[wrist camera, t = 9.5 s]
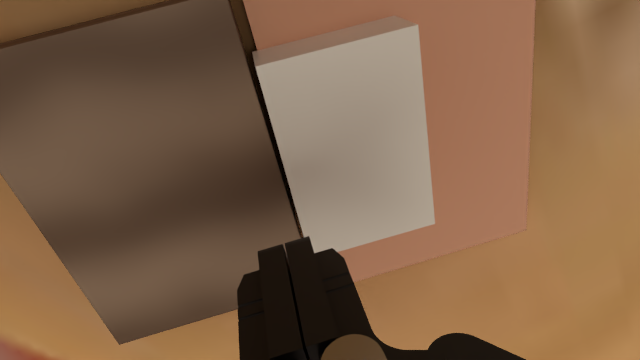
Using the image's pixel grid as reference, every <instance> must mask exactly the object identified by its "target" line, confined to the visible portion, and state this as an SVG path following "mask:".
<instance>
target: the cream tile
mask: <svg viewBox="0 0 640 360" xmlns="http://www.w3.org/2000/svg"><path fill="white" fill-rule="evenodd" d="M252 54H253V59H254V63H255V68H256V71H257V75H258V78H259V82H260V85H261V89H262V92H263V96H264V99H265V103H266V106H267V110H268V113H269V117H270V120H271V124H272V127H273V131H274V134H275V138H276V141H277V145H278V148H279V152H280V155H281V159H282V162H283V166H284V169H285V173H286V176H287V180H288V183H289V187H290V190H291V194H292V197H293V201H294V204H295V208H296V211H297V215H298V218H299V222H300V225H301V229H302V232H303V236H304V237H307V236H309V237H310V240H311V244H312V247H313V250H314V253H317V252H321V251H324V250H327V249H331V248H333V249H334V250H335V251H336V252H339V251H343V250H346V249H350V248H353V247H357V246H360V245H364V244H367V243H370V242H374V241H377V240H381V239H384V238H388V237H391V236H395V235H398V234H402V233H405V232H409V231H412V230H415V229H419V228H422V227H426V226H429V225H433V224H435V217H434V205H433V193H432V181H431V170H430V158H429V146H428V134H427V123H426V111H425V99H424V87H423V75H422V64H421V52H420V40H419V28H418V24H415V23H413V22H410V21H408V20H405V19H403V18H400V17H397V16H395V15H394V16H390V17H386V18H383V19H379V20H375V21H371V22H367V23H363V24H359V25H355V26H351V27H347V28H344V29H340V30H336V31H332V32H328V33H324V34H320V35H316V36H312V37H308V38H304V39H301V40H297V41H293V42H289V43H285V44H281V45H277V46H273V47H269V48H265V49H261V50H258V51H254V52H252Z"/></svg>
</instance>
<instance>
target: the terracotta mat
mask: <svg viewBox="0 0 640 360" xmlns="http://www.w3.org/2000/svg"><path fill="white" fill-rule="evenodd" d="M243 2H244V6H245V9H246V13H247V16H248V20H249V23H250V27H251V30H252V34H253V37H254V41H255V44H256V48H257V51H258V50H261V49H265V48H269V47H273V46H277V45H281V44H285V43H289V42H293V41H297V40H301V39H304V38H308V37H312V36H316V35H320V34H324V33H328V32H332V31H336V30H340V29H344V28H347V27H351V26H355V25H359V24H363V23H367V22H371V21H375V20H379V19H383V18H386V17H390V16H394V15H395V16H397V17H400V18H403V19H405V20H408V21H410V22H413V23H415V24H418V28H419V40H420V52H421V64H422V75H423V87H424V99H425V111H426V123H427V134H428V146H429V158H430V170H431V181H432V193H433V205H434V217H435V224H433V225H429V226H426V227H422V228H419V229H415V230H412V231H409V232H405V233H402V234H398V235H395V236H391V237H388V238H384V239H381V240H377V241H374V242H370V243H367V244H364V245H360V246H357V247H353V248H350V249H346V250H343V251H339V252H338V253H339V254H340V255H341V256H342V257H344V259H345V262H346V264H347V267H348V269H349V272H350V275H351V277H352V280H353V282H356V281H360V280H363V279H366V278H370V277H373V276H376V275H380V274H383V273H386V272H390V271H393V270H396V269H400V268H403V267H406V266H410V265H413V264H416V263H419V262H423V261H426V260H429V259H433V258H436V257H439V256H443V255H446V254H449V253H453V252H456V251H459V250H463V249H466V248H469V247H472V246H476V245H479V244H482V243H486V242H489V241H492V240H496V239H499V238H502V237H506V236H509V235H512V234H516V233H519V232H522V231H526V228H527V203H528V178H529V153H530V128H531V103H532V78H533V53H534V28H535V4H536V0H243Z"/></svg>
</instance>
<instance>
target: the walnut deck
mask: <svg viewBox="0 0 640 360" xmlns="http://www.w3.org/2000/svg"><path fill="white" fill-rule="evenodd" d="M0 173H1V175H2V176H3V178H4V179H5V181H6V182H7V183H8V185H9V186H10V188H11V189H12V191H13V192H14V194H15V195H16V196H17V198H18V199H19V201H20V202H21V204H22V205H23V207H24V208H25V209H26V211H27V212H28V214H29V215H30V217H31V218H32V220H33V221H34V222H35V224H36V225H37V227H38V228H39V230H40V231H41V233H42V234H43V235H44V237H45V238H46V240H47V241H48V243H49V244H50V245H51V247H52V248H53V250H54V251H55V253H56V254H57V256H58V257H59V258H60V260H61V261H62V263H63V264H64V266H65V267H66V269H67V270H68V271H69V273H70V274H71V276H72V277H73V279H74V280H75V282H76V283H77V284H78V286H79V287H80V289H81V290H82V292H83V293H84V295H85V296H86V297H87V299H88V300H89V302H90V303H91V305H92V306H93V308H94V309H95V310H96V312H97V313H98V315H99V316H100V318H101V319H102V321H103V322H104V323H105V325H106V326H107V328H108V329H109V331H110V332H111V333H112V335H113V336H114V338H115V339H116V341H117V342H118V344H119V345H120V344H123V343H126V342H130V341H133V340H136V339H140V338H143V337H146V336H150V335H153V334H156V333H160V332H163V331H166V330H170V329H173V328H176V327H180V326H183V325H186V324H190V323H193V322H196V321H200V320H203V319H206V318H210V317H213V316H216V315H220V314H223V313H226V312H229V311H233V310H236V309H238V302H237V289H238V287H239V284H240V282H241V280H242V278H243V275H244V274H247V273H251V272H254V271H257V270H259V261H258V251H260V250H263V249H267V248H270V247H273V246H277V245H280V244H283V245H284V248H285V243H287V242H290V241H293V240H297V239H300V238H301V234H300V231H299V228H298V224H297V221H296V218H295V214H294V211H293V208H292V204H291V201H290V198H289V194H288V191H287V188H286V185H285V181H284V178H283V175H282V171H281V168H280V165H279V161H278V158H277V155H276V151H275V148H274V145H273V142H272V138H271V135H270V132H269V128H268V125H267V122H266V118H265V115H264V112H263V108H262V105H261V102H260V99H259V95H258V92H257V89H256V85H255V82H254V79H253V75H252V72H251V69H250V65H249V62H248V59H247V55H246V52H245V49H244V46H243V42H242V39H241V36H240V32H239V29H238V26H237V22H236V19H235V16H234V12H233V9H232V6H231V3H230V0H169V1H165V2H161V3H157V4H153V5H149V6H145V7H141V8H137V9H134V10H130V11H126V12H122V13H118V14H114V15H110V16H106V17H102V18H98V19H95V20H91V21H87V22H83V23H79V24H75V25H71V26H67V27H63V28H59V29H56V30H52V31H48V32H44V33H40V34H36V35H32V36H28V37H24V38H20V39H17V40H13V41H9V42H5V43H1V44H0ZM285 251H286V248H285ZM286 254H287V253H286Z"/></svg>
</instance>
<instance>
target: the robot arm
mask: <svg viewBox="0 0 640 360" xmlns="http://www.w3.org/2000/svg"><path fill="white" fill-rule="evenodd" d="M285 248H286V251H285ZM285 248H284V245H283V244H280V245H277V246H273V247H270V248H267V249H263V250H260V251H258V261H259V270H257V271H254V272H251V273H247V274H244V275H243V278H242V280H241V282H240V284H239V287H238V289H237V302H238V319H239V322H238V326H239V350H240V360H526V359H523V358H521V357H519V356H517V355H514V354H512V353H510V352H508V351H506V350H503V349H501V348H499V347H497V346H495V345H492V344H490V343H488V342H486V341H483V340H481V339H479V338H477V337H474V336H472V335H468V334H464V333H451V334H446V335H444V336H441V337H439V338H438V339H436V340H435V341H434V342H433V343H432V344H431V345H430V346H429V348H428V350H401V349H396V348H393V347H390V346H388V345H386V344H384V343H383V342H382V341H380V340H379V339H378V338H377V337H376V336H375V334H374V333H373V331H372V329H371V326H370V324H369V321H368V319H367V316H366V313H365V311H364V308H363V306H362V303H361V300H360V298H359V295H358V293H357V290H356V288H355V286H354V282H353V280H352V277H351V275H350V272H349V269H348V267H347V264H346V262H345V259H344V257H342V256H341V255H340V254H339V253H338V252H336V251H335V250H334V249H333V248H331V249H327V250H324V251H321V252H317V253H314V250H313V247H312V244H311V240H310V237H309V236H307V237H303V238H300V239H297V240H293V241H290V242H287V243H285ZM286 253H287V254H286Z"/></svg>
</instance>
